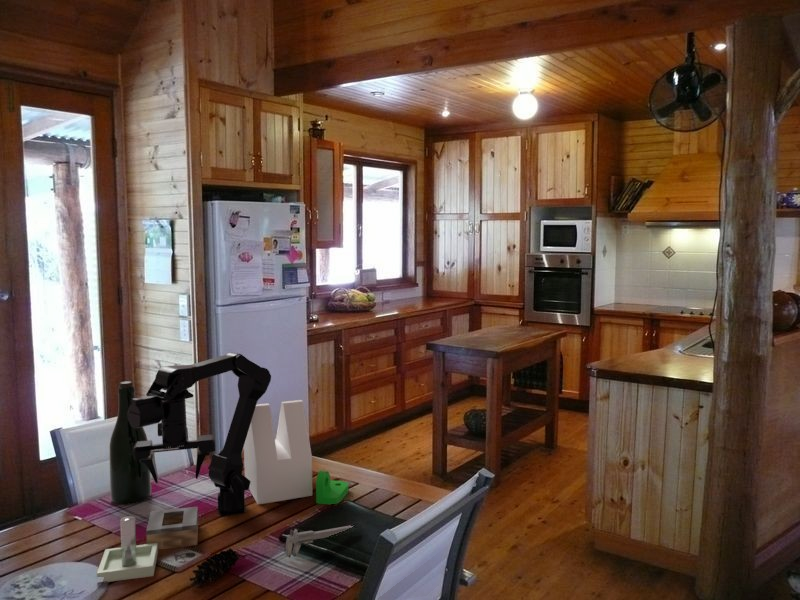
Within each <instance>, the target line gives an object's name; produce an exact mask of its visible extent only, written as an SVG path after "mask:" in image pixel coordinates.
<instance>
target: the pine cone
mask: <svg viewBox="0 0 800 600" xmlns="http://www.w3.org/2000/svg"><path fill="white" fill-rule="evenodd" d="M251 555H252V553H247V554H244V555H243V554H240V553H239V552H238V551H236V550H233V549H232V548H231V547H230V548H228V549H227V550H221V551H220V552H219V553H214V554H212V555H211V556H210V557H206V558H205V560H203V561H202V562H201V563H200V564H197V565H196V567H197V568H198V569H194V570H192V574H194V575H195V576H194V577H189V579H188V580H189V582H192V583H191V584H190V585H189V587H192V589H194V588H195V587H196V586H198V587H200V586H202V587H204V586H205V584H207V583H209V584H210V583H212V582H215V581H216V579H217V575H219V576H223V575H224V572H225V570H228V571H231V570H232V567H233V566H234V567H236V563H237V562H238V560H240V558H244V559H245V558H246V557H248V556H251Z"/></svg>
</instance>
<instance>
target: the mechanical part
mask: <svg viewBox="0 0 800 600" xmlns="http://www.w3.org/2000/svg"><path fill="white" fill-rule="evenodd" d="M348 493H349V483H348V482H346V481H342V480H333V479H331V477H330V472H329V471H327V470H320V471H319V470H318V473H317V475H316V481H315V503H316V504H319V505H329V506H330V505H331V504H335V503H339V502H340V503H341V501H342V500H344V498H345V496H347V494H348ZM340 503H339V504H340ZM331 506H332V505H331Z"/></svg>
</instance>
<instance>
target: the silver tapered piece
mask: <svg viewBox="0 0 800 600" xmlns="http://www.w3.org/2000/svg"><path fill="white" fill-rule="evenodd" d="M119 524H120V526H119V527H120V547H121V557H122V566H124V567H130V566H133V565H135V564H136V563H137V559H136V545H137V539H136V538H137V537H136V536H137V534H136V517H135V516H134V515H133V516H132V515H131V516H130V515H129V516H124V517H121V518H120V519H119Z"/></svg>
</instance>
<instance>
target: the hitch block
mask: <svg viewBox="0 0 800 600" xmlns="http://www.w3.org/2000/svg"><path fill="white" fill-rule="evenodd" d="M147 523H148V524H147V526H146V530H145V532H146V533H145V535H146V536H145V537H146V544H152V543H158V551H159V550H166V549H175V548H184V547H191V546H197V545H198V539H199V538H198V537H199V507H198V505H197V506H191V507H190V506H189V507H181V508H173V509H162V510H155V511H154V510H152V511H150V515H149V518H148V522H147Z"/></svg>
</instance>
